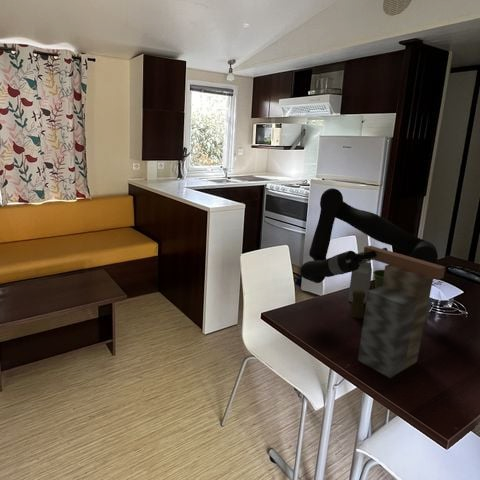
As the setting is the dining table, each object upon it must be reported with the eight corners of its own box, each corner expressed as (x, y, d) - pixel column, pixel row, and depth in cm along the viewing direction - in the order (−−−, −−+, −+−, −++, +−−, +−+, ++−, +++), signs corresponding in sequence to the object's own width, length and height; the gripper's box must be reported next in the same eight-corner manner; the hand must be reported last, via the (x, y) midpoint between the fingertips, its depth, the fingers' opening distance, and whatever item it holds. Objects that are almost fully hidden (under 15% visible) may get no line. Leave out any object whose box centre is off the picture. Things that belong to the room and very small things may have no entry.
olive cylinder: (364, 319, 158) (367, 294, 155) (349, 317, 159) (352, 292, 156) (362, 312, 163) (366, 288, 160) (348, 311, 164) (351, 287, 162)
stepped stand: (357, 360, 128) (370, 270, 119) (384, 346, 137) (398, 261, 129) (390, 378, 119) (406, 282, 110) (416, 362, 128) (433, 272, 120)
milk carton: (363, 305, 171) (369, 265, 166) (347, 301, 174) (352, 262, 169) (367, 300, 176) (373, 261, 171) (352, 296, 180) (357, 258, 175)
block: (363, 256, 133) (364, 246, 132) (369, 255, 135) (370, 245, 134) (437, 279, 113) (439, 268, 112) (443, 277, 115) (445, 266, 114)
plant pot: (374, 289, 190) (377, 267, 187) (399, 295, 184) (402, 273, 181) (366, 296, 181) (369, 274, 178) (392, 303, 174) (396, 280, 171)
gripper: (328, 256, 139) (365, 244, 125) (352, 250, 147) (389, 238, 134) (334, 276, 137) (372, 266, 124) (358, 269, 146) (396, 259, 133)
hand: (381, 251), depth 129 cm, fingers open, 6 cm apart
